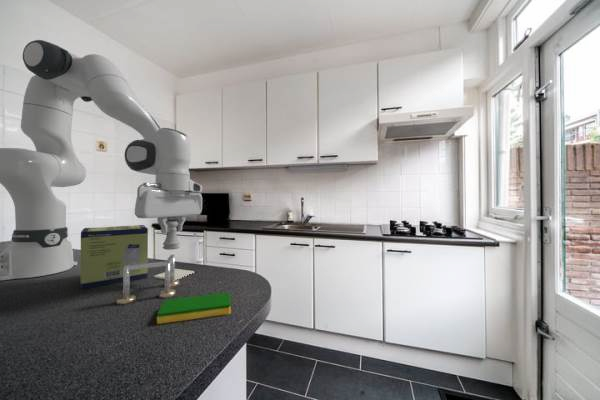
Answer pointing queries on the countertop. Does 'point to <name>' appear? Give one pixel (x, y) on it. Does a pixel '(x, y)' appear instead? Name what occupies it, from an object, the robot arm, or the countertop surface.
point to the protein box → (112, 254)
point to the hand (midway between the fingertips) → (171, 231)
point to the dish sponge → (194, 307)
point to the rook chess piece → (171, 237)
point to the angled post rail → (168, 265)
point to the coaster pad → (178, 274)
